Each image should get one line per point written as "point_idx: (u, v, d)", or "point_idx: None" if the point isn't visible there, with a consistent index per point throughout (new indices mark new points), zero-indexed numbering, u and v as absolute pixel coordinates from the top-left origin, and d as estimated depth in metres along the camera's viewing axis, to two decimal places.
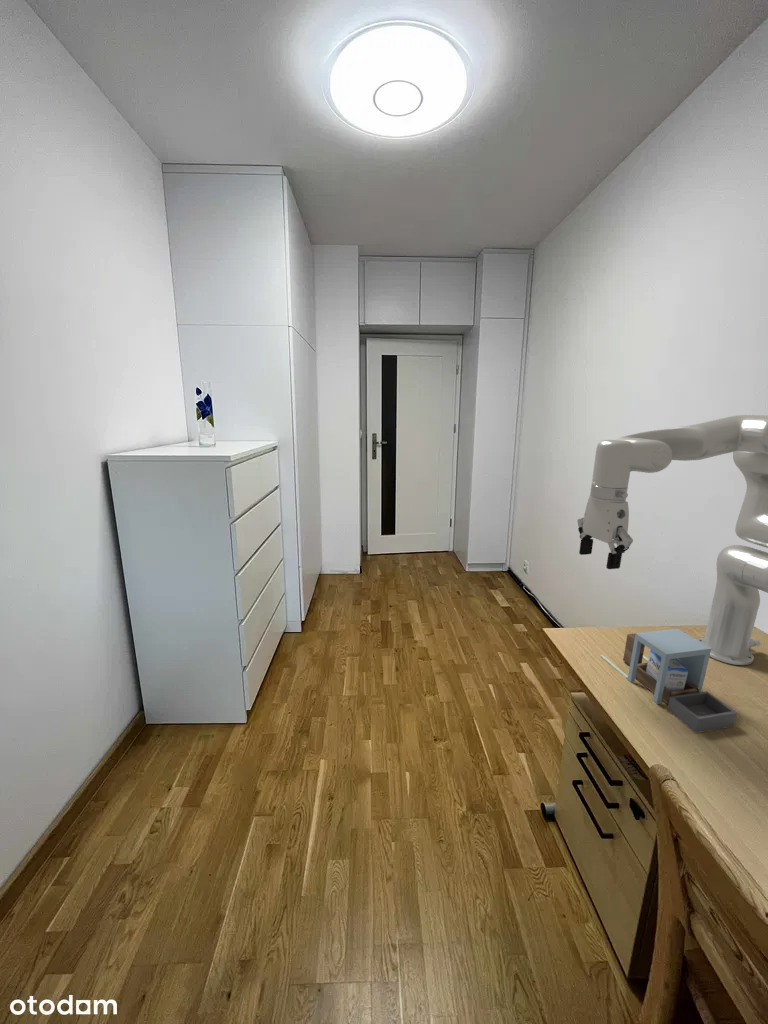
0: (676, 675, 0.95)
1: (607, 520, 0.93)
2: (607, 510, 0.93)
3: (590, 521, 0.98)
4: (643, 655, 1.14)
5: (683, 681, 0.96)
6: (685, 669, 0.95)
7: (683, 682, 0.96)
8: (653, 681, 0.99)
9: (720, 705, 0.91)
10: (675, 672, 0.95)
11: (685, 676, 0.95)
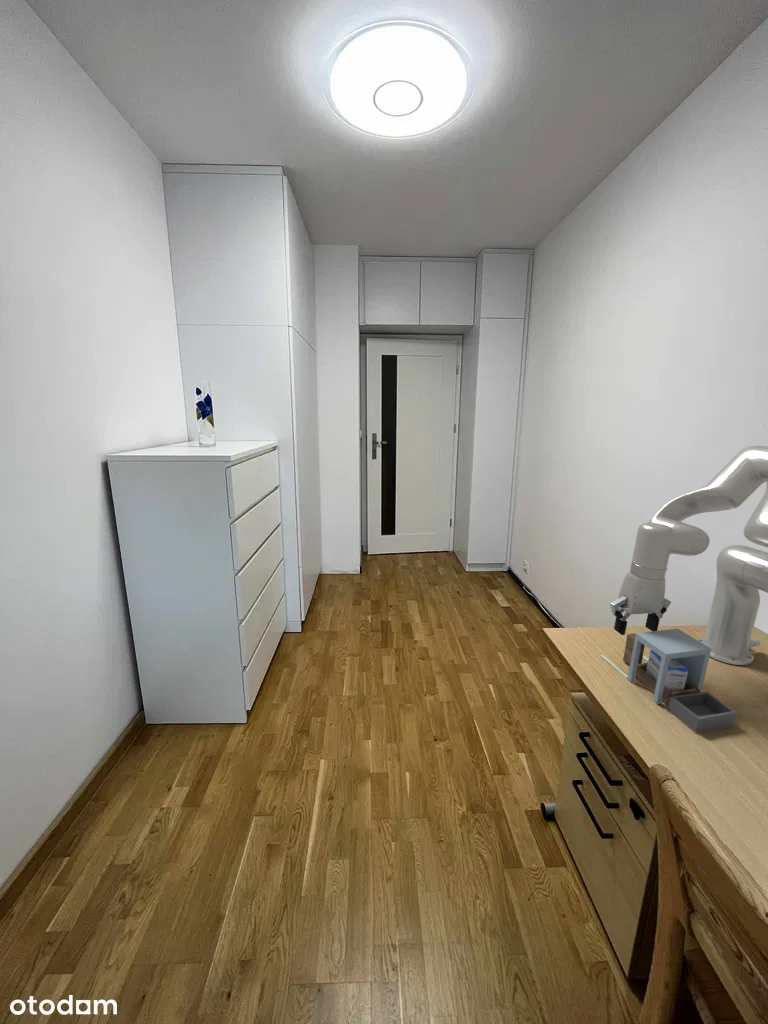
0: (676, 675, 0.95)
1: (662, 594, 1.03)
2: (662, 586, 1.03)
3: (643, 601, 1.03)
4: (643, 655, 1.14)
5: (683, 681, 0.96)
6: (685, 669, 0.95)
7: (683, 682, 0.96)
8: (653, 681, 0.99)
9: (720, 705, 0.91)
10: (675, 672, 0.95)
11: (685, 676, 0.95)
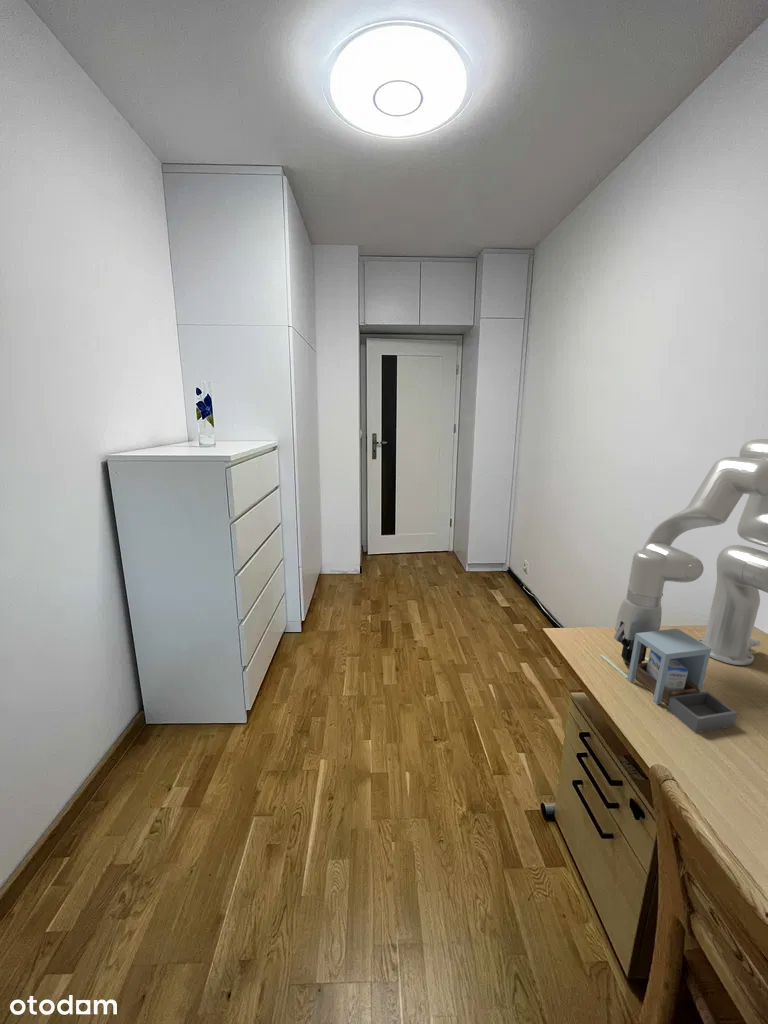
0: (676, 675, 0.95)
1: (658, 619, 1.05)
2: (658, 612, 1.05)
3: (640, 627, 1.05)
4: None
5: (683, 681, 0.96)
6: (685, 669, 0.95)
7: (683, 682, 0.96)
8: (653, 681, 0.99)
9: (720, 705, 0.91)
10: (675, 672, 0.95)
11: (685, 676, 0.95)
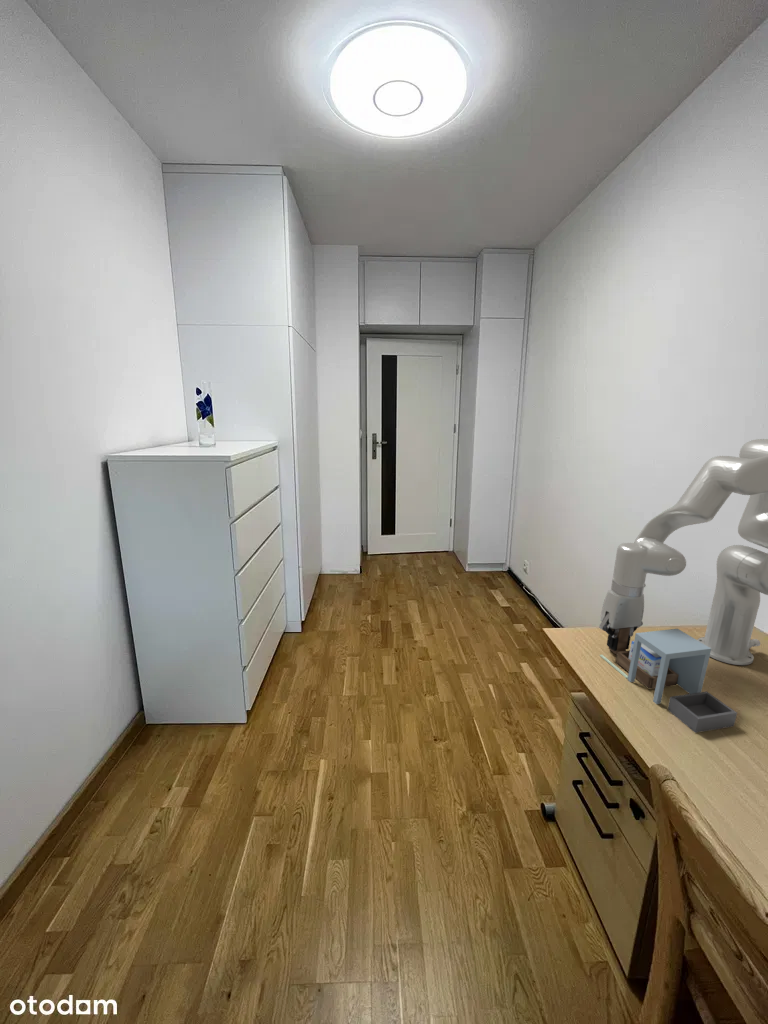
0: None
1: (641, 609, 1.11)
2: (641, 602, 1.10)
3: (624, 617, 1.10)
4: None
5: None
6: None
7: None
8: None
9: (720, 705, 0.91)
10: (660, 660, 0.99)
11: None
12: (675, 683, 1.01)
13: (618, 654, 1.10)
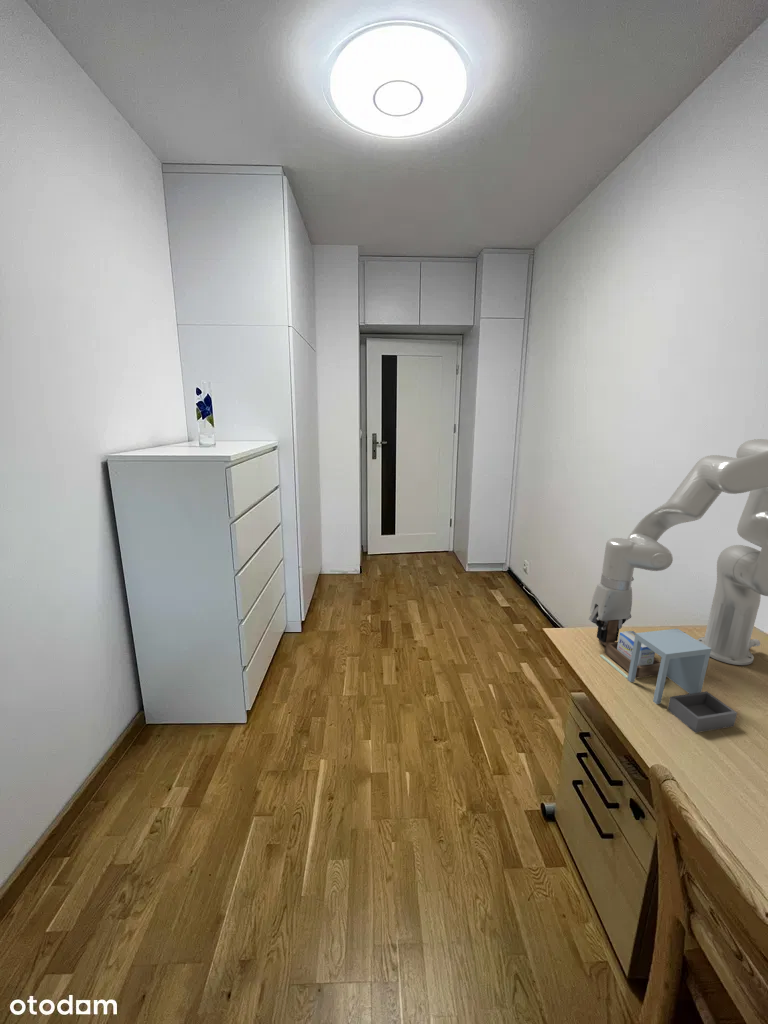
0: (647, 654, 1.04)
1: (629, 602, 1.15)
2: (629, 595, 1.14)
3: (612, 609, 1.14)
4: None
5: (652, 658, 1.04)
6: None
7: (652, 659, 1.04)
8: (623, 657, 1.08)
9: (720, 705, 0.91)
10: (646, 650, 1.03)
11: (653, 653, 1.04)
12: None
13: (607, 645, 1.14)
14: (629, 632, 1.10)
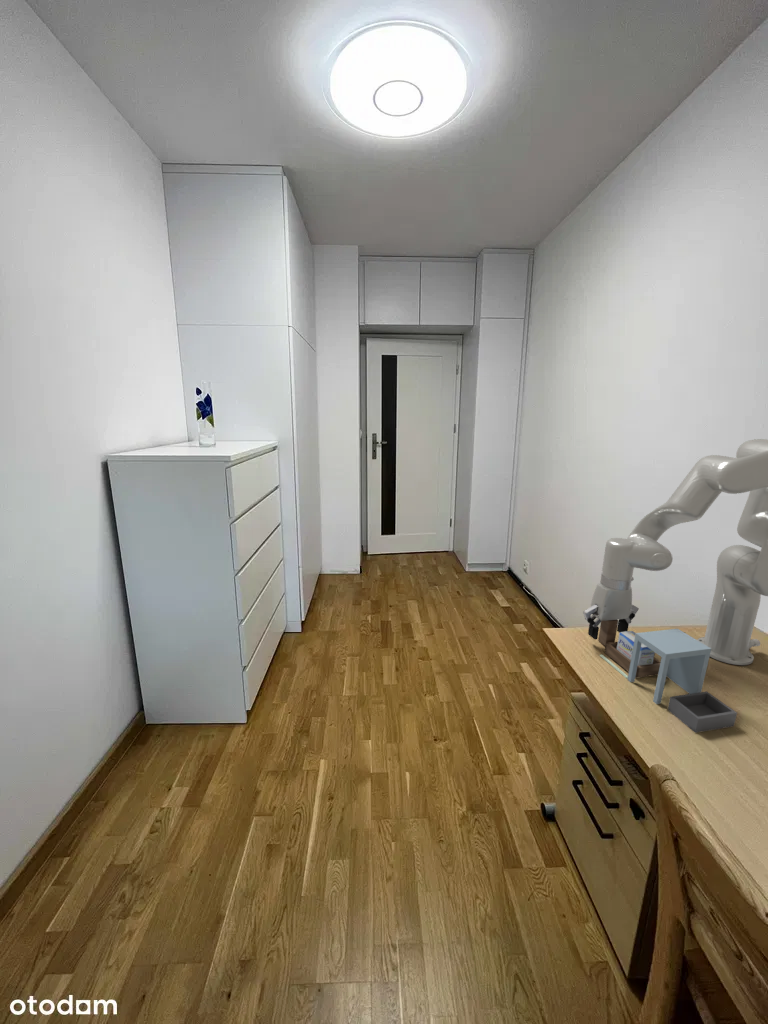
0: (646, 654, 1.04)
1: (629, 602, 1.15)
2: (629, 595, 1.14)
3: (612, 609, 1.14)
4: None
5: (652, 658, 1.04)
6: None
7: (651, 659, 1.04)
8: (622, 657, 1.08)
9: (720, 705, 0.91)
10: (646, 650, 1.03)
11: (653, 653, 1.04)
12: None
13: (607, 645, 1.14)
14: (629, 632, 1.10)
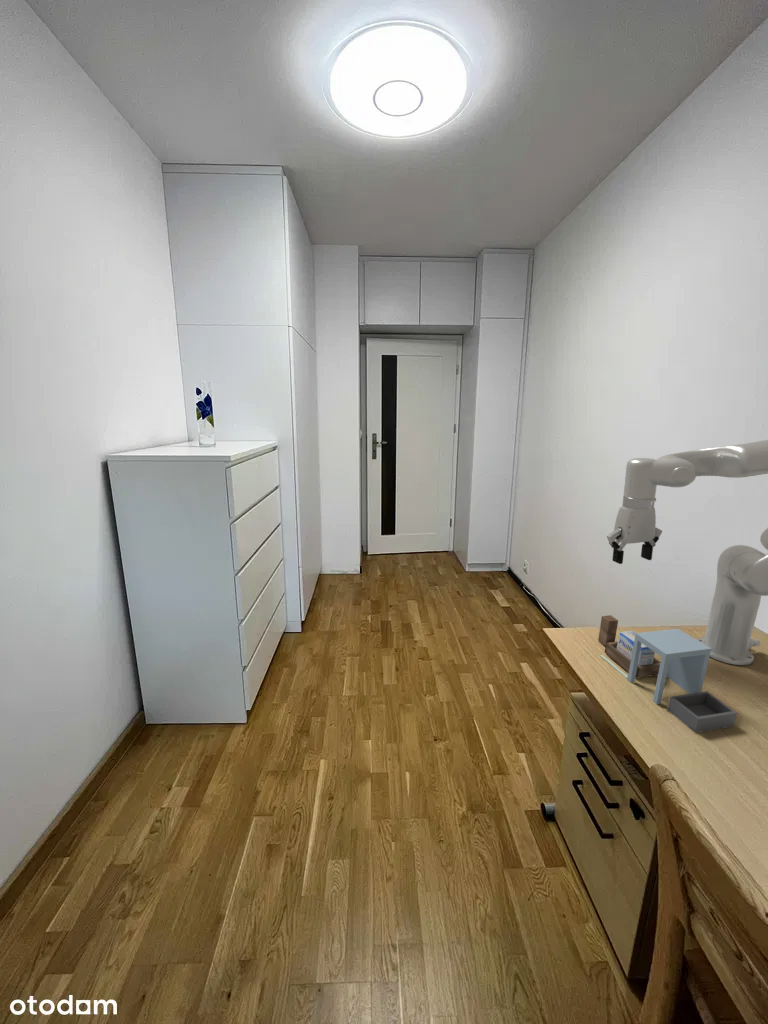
0: (647, 654, 1.04)
1: (653, 522, 1.13)
2: (652, 515, 1.12)
3: (637, 530, 1.12)
4: None
5: (652, 658, 1.04)
6: None
7: (651, 659, 1.04)
8: (622, 657, 1.08)
9: (720, 705, 0.91)
10: (646, 650, 1.03)
11: (653, 653, 1.04)
12: None
13: (607, 645, 1.14)
14: (629, 632, 1.10)
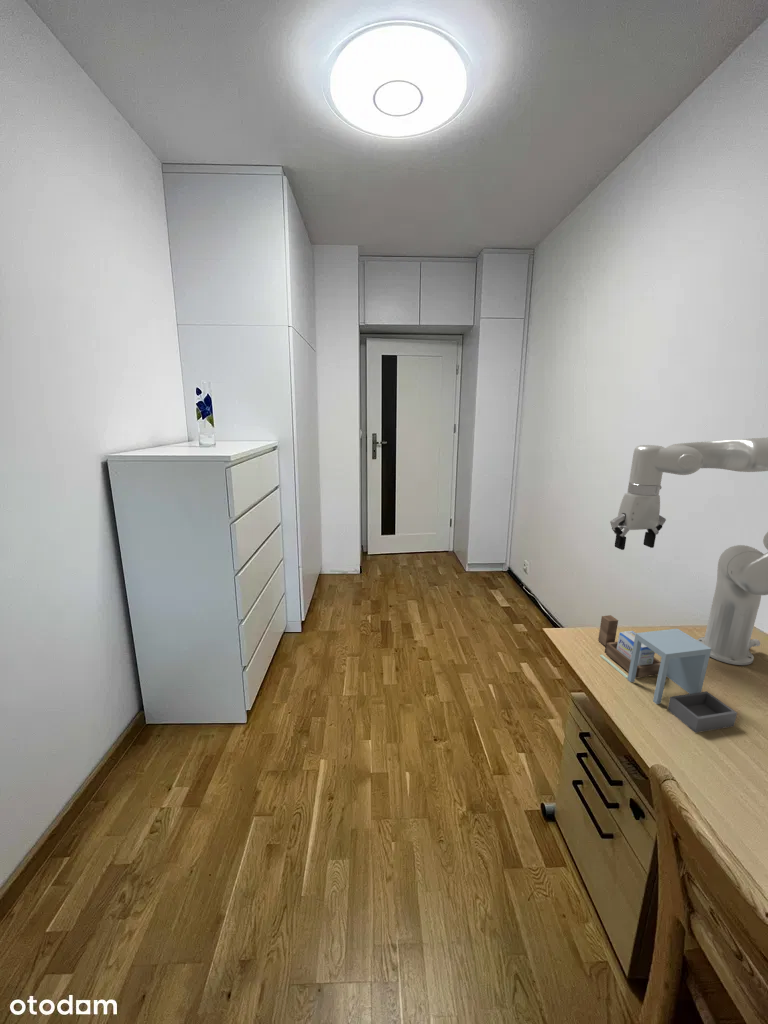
0: (646, 654, 1.04)
1: (657, 510, 1.14)
2: (657, 503, 1.13)
3: (640, 517, 1.13)
4: None
5: (652, 658, 1.04)
6: None
7: (651, 659, 1.04)
8: (622, 657, 1.08)
9: (720, 705, 0.91)
10: (646, 650, 1.03)
11: (653, 653, 1.04)
12: None
13: (607, 645, 1.14)
14: (629, 632, 1.10)
